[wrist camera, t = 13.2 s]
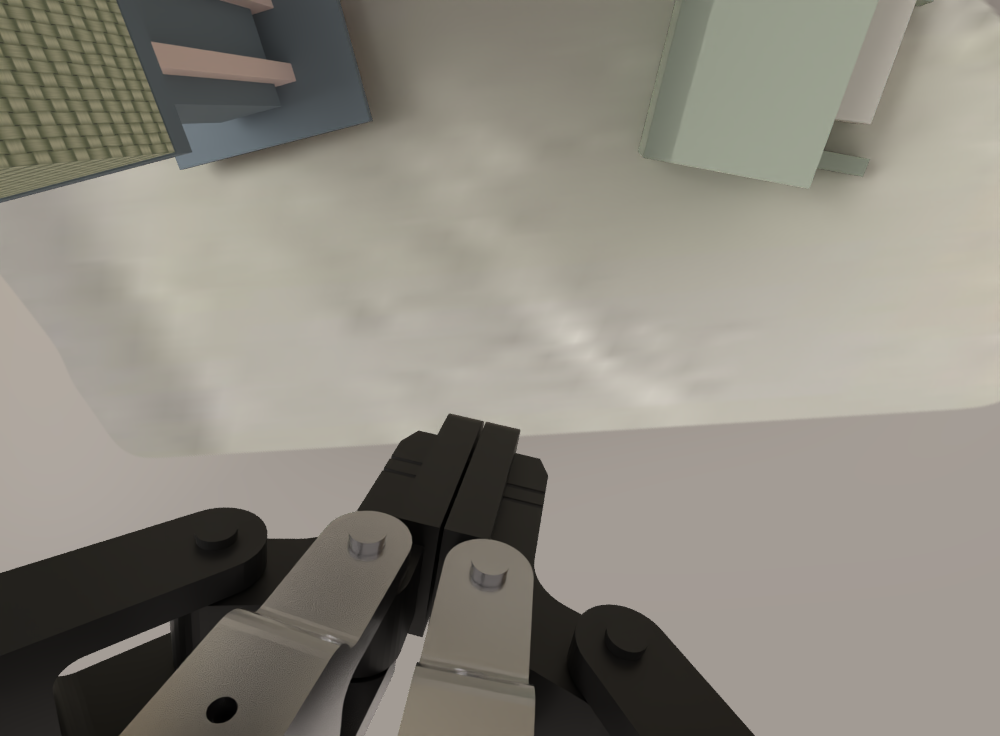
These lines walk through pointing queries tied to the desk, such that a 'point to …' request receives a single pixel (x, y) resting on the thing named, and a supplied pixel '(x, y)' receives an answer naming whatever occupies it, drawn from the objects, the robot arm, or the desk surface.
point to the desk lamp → (165, 83)
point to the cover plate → (875, 61)
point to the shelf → (756, 86)
